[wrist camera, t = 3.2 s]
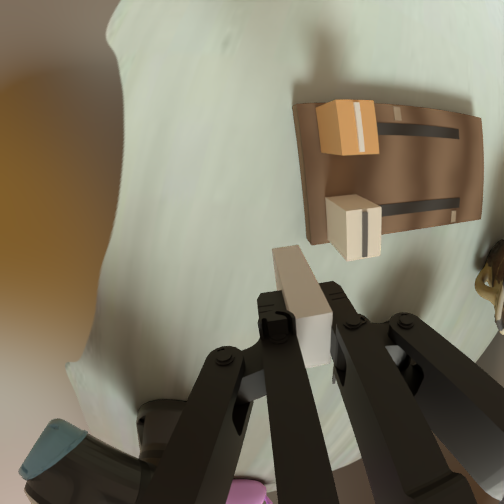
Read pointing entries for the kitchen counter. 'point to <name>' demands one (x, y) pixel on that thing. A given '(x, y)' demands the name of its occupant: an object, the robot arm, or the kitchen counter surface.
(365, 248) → the cream fader knob
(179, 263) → the kitchen counter surface
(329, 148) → the orange fader knob
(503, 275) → the bowl
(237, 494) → the teapot
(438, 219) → the console board
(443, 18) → the kitchen counter surface
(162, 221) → the kitchen counter surface
